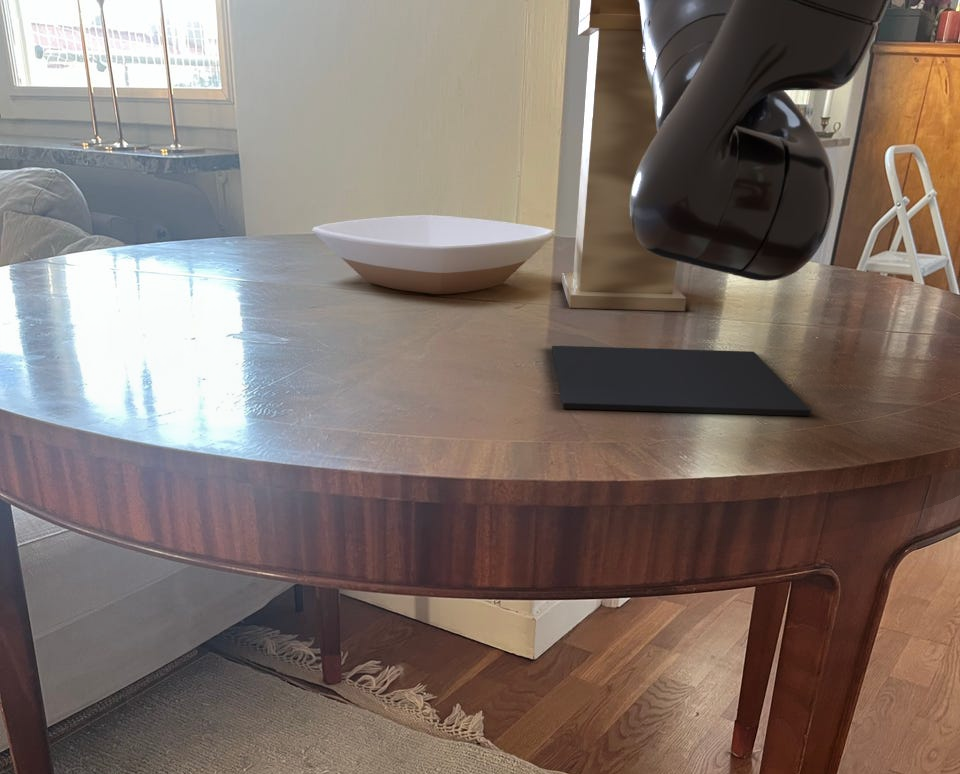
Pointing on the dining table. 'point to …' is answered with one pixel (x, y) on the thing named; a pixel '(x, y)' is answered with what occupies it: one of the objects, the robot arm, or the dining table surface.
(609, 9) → the stand
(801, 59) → the robot arm
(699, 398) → the mat
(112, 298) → the dining table surface
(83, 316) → the dining table surface
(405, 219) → the bowl
